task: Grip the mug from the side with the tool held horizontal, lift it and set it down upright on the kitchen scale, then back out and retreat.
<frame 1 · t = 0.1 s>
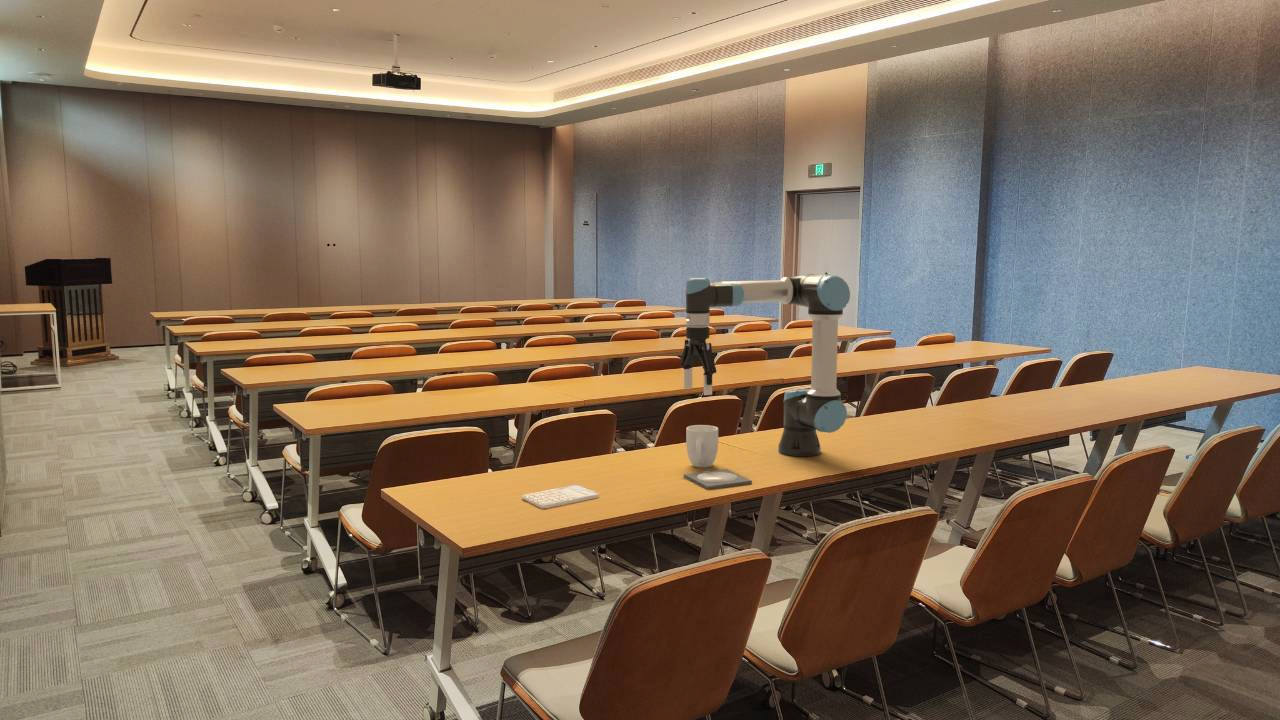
hand: (697, 391, 279), 28 cm above the table, tool pointing down, fingers open, 13 cm apart
kitchen scale: (717, 480, 277), on the table
mug: (701, 466, 295), on the table
calculator: (560, 500, 258), on the table
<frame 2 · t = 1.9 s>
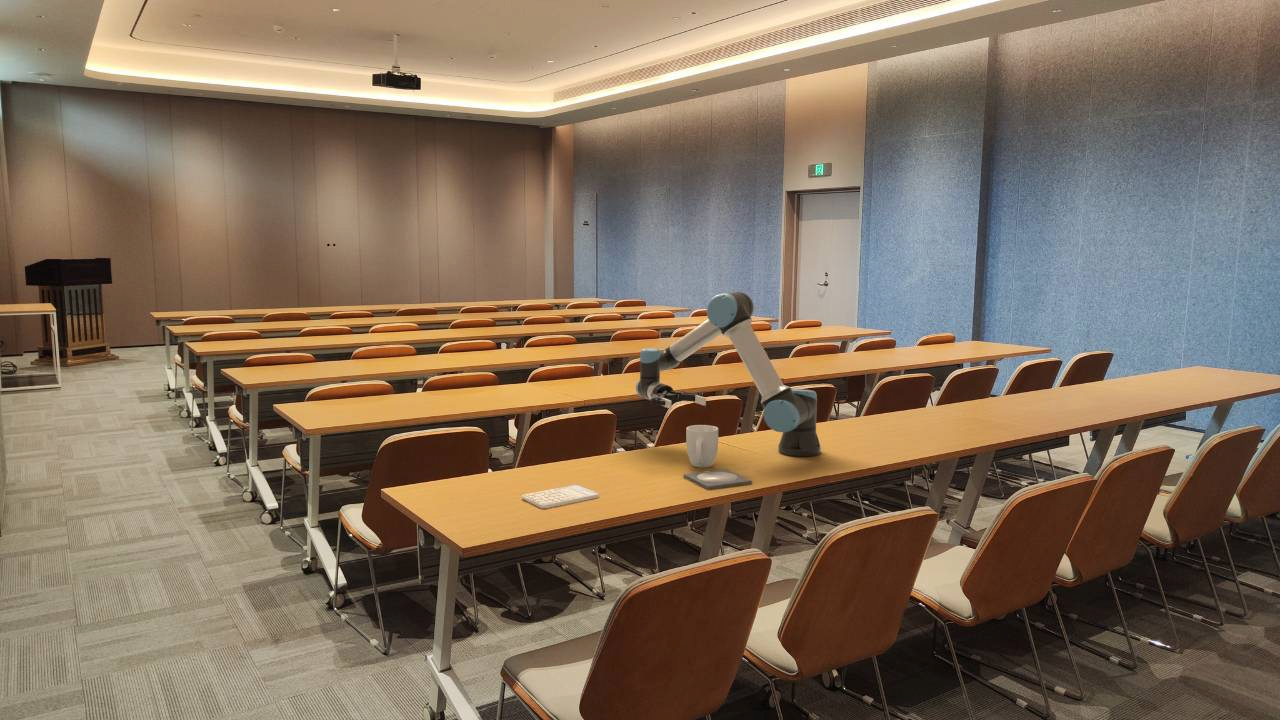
hand: (687, 403, 301), 20 cm above the table, tool horizontal, fingers open, 13 cm apart
nothing on the table moved.
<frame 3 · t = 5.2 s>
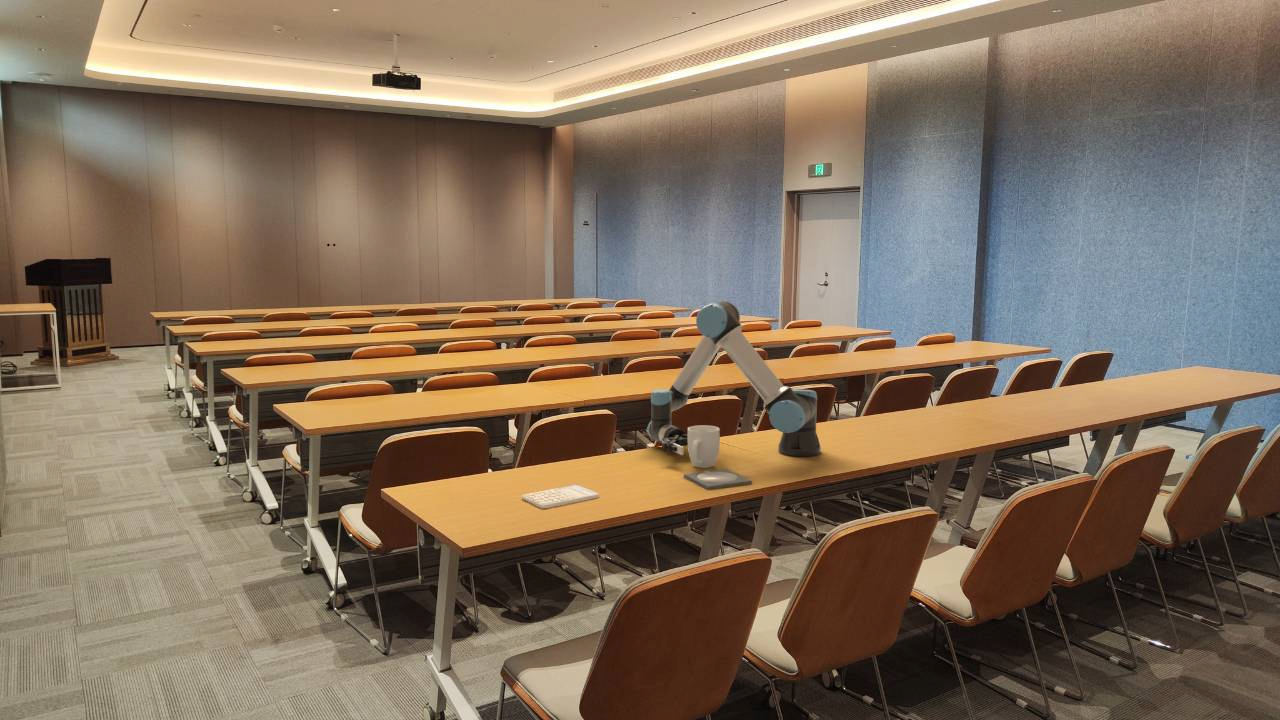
hand: (700, 449, 294), 6 cm above the table, tool horizontal, fingers open, 13 cm apart
mug: (702, 467, 294), on the table, touching gripper
everything else where it was.
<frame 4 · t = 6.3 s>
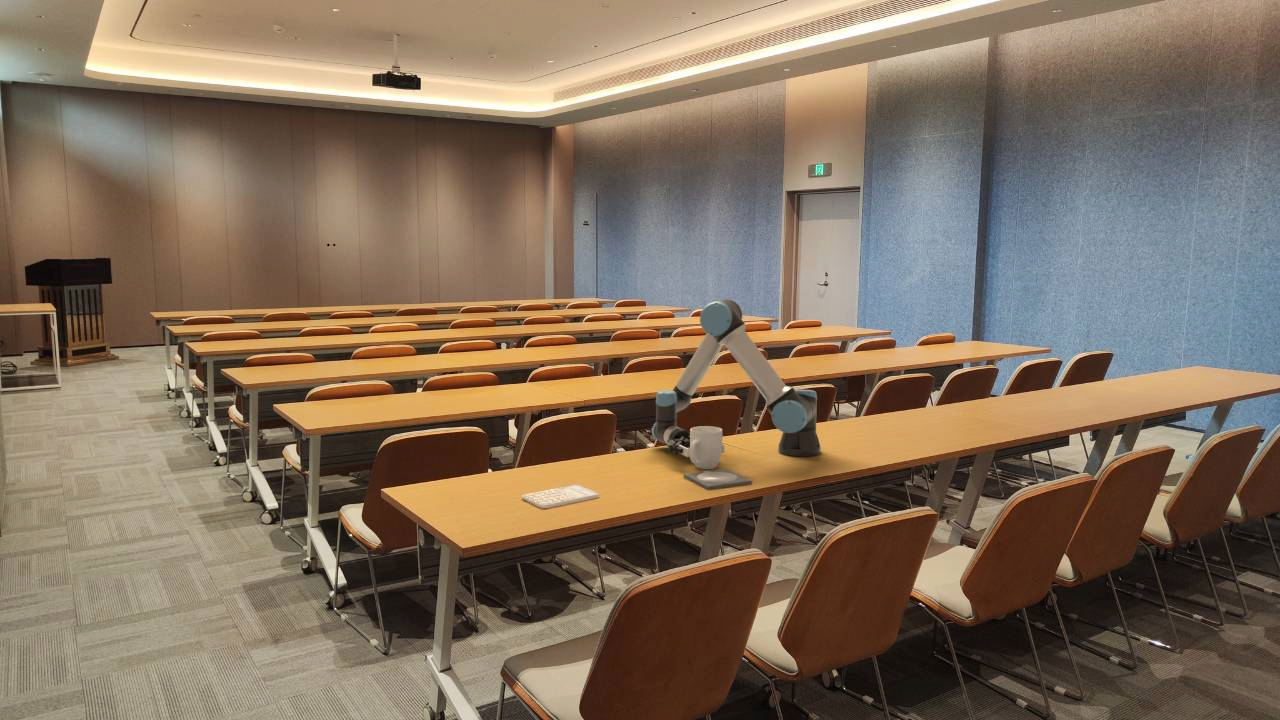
hand: (706, 451, 291), 6 cm above the table, tool horizontal, fingers closed on mug, 13 cm apart
mug: (704, 468, 293), on the table, touching gripper
everything else where it was.
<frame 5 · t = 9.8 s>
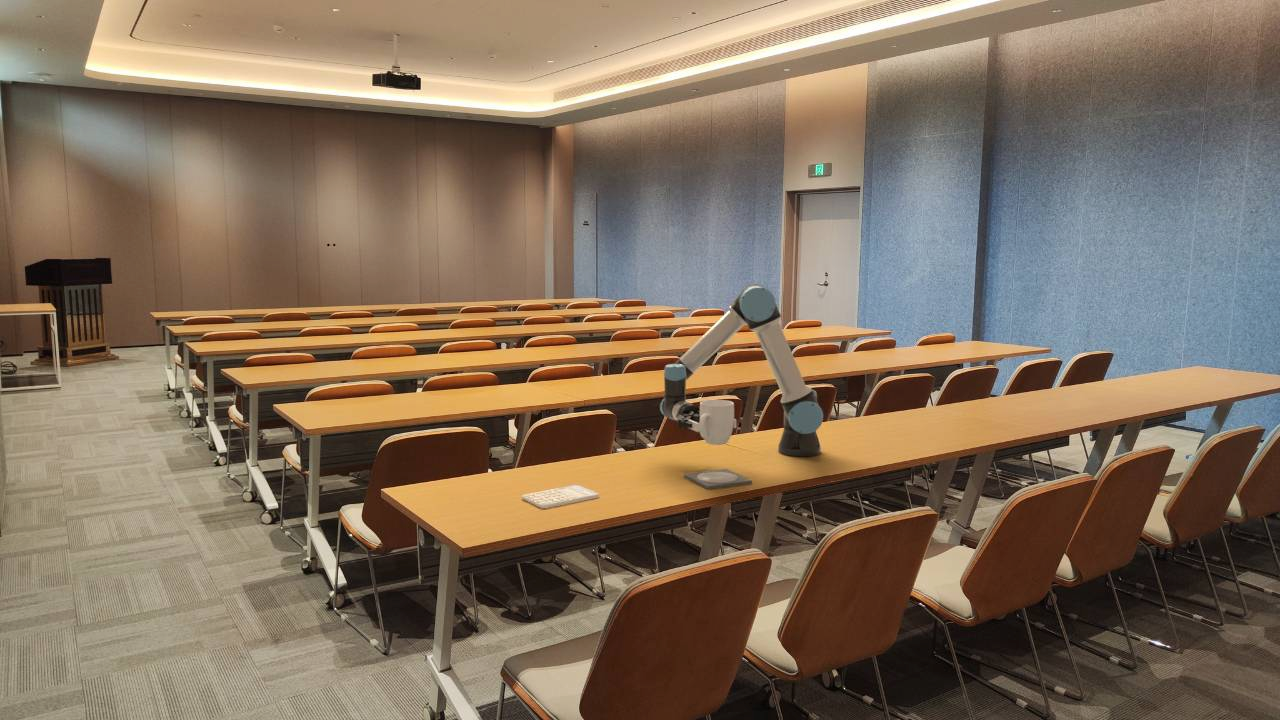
hand: (716, 425, 274), 18 cm above the table, tool horizontal, fingers closed on mug, 13 cm apart
mug: (714, 443, 276), point 12 cm above the table, touching gripper
everything else where it was.
when the fingers open (8 cm above the table, at t = 13.2 s): mug stays where it is, resting on kitchen scale.
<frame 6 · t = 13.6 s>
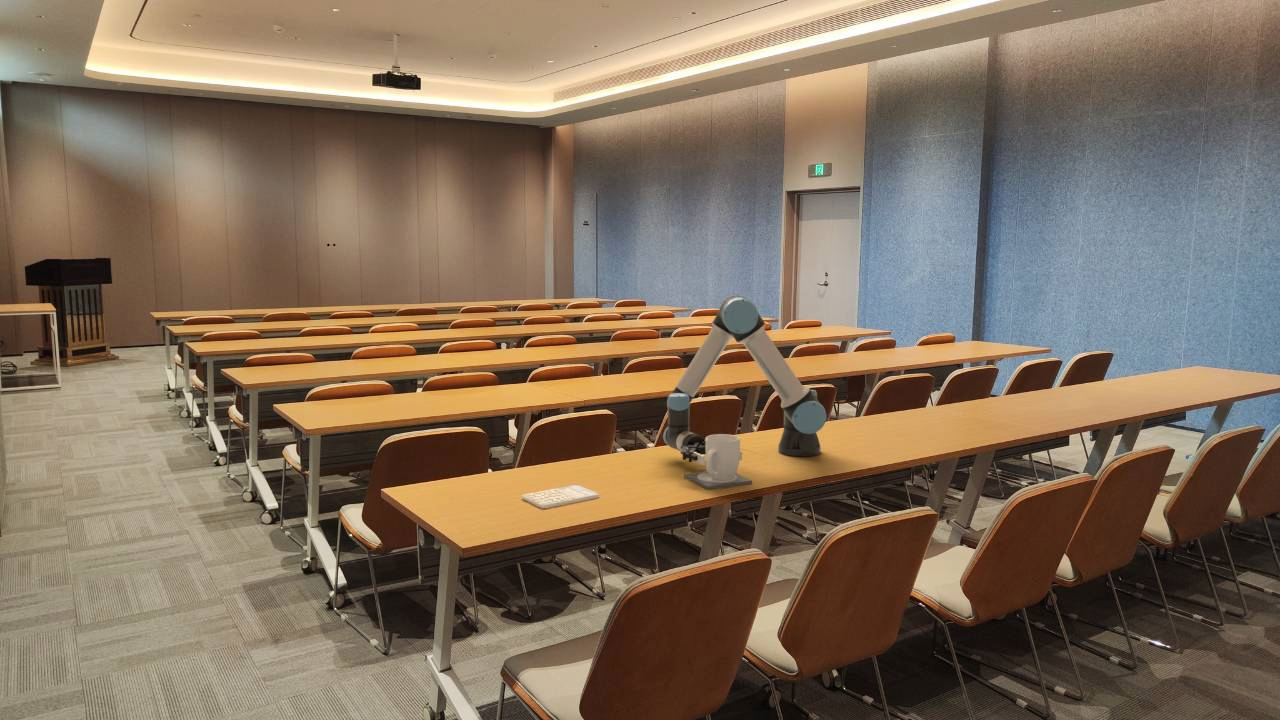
hand: (722, 458, 273), 8 cm above the table, tool horizontal, fingers open, 13 cm apart
mug: (720, 479, 275), point 1 cm above the table, touching kitchen scale, gripper
everything else where it was.
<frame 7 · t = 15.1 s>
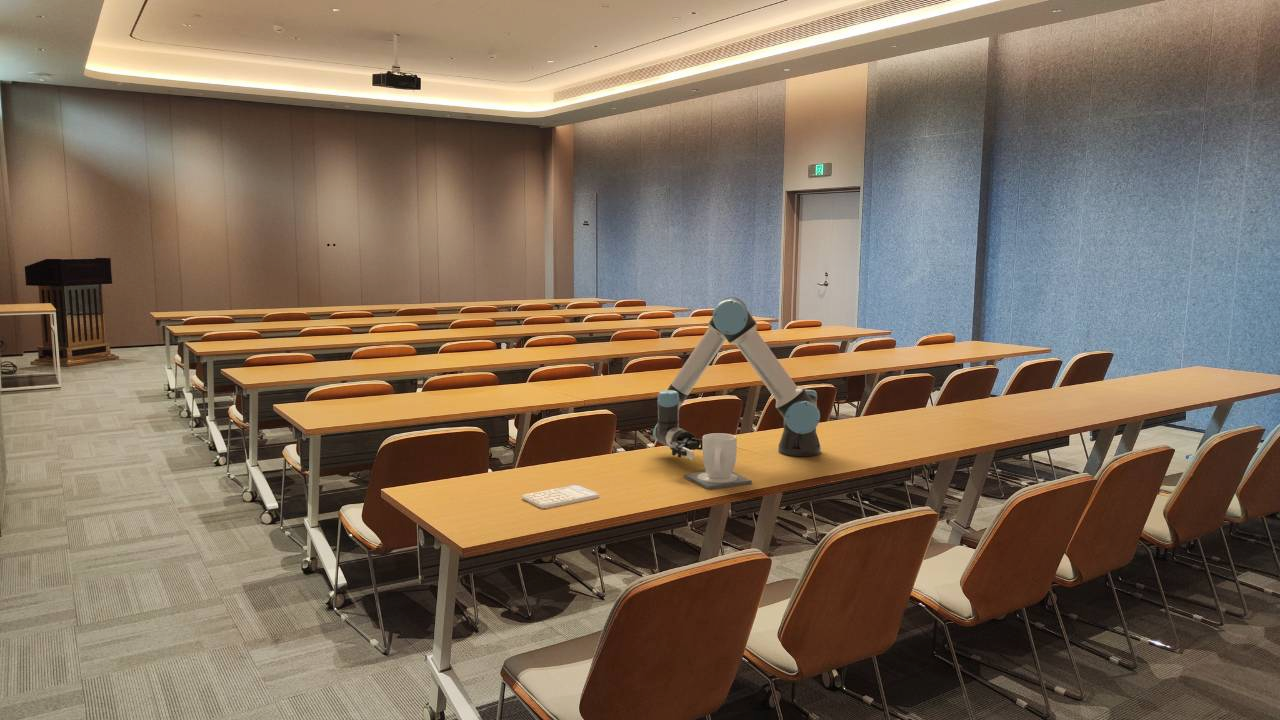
hand: (711, 453, 279), 8 cm above the table, tool horizontal, fingers open, 13 cm apart
mug: (719, 477, 276), point 1 cm above the table, touching kitchen scale
everything else where it was.
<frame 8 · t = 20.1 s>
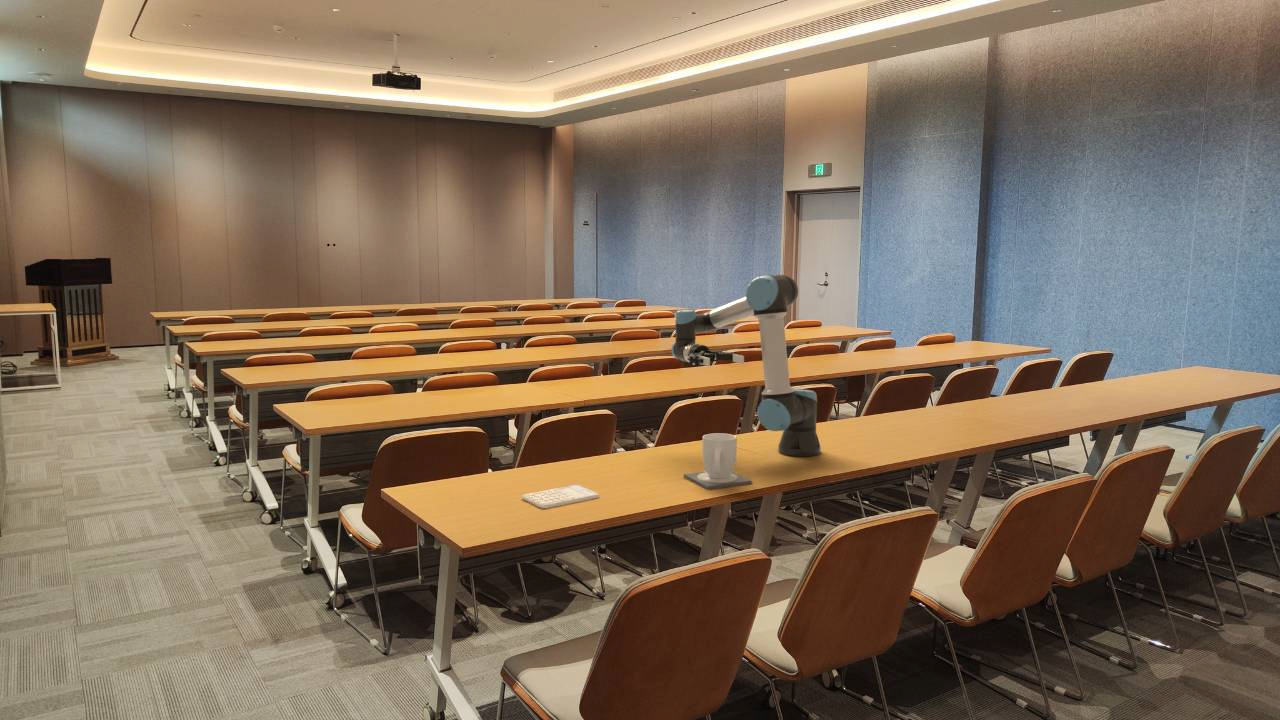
hand: (726, 361, 299), 35 cm above the table, tool horizontal, fingers open, 13 cm apart
nothing on the table moved.
at the end: mug inside the target area on the kitchen scale (0.7 cm from its centre), point 0.9 cm above the kitchen scale's base; mug tilted 0°; the gripper is holding nothing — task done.
